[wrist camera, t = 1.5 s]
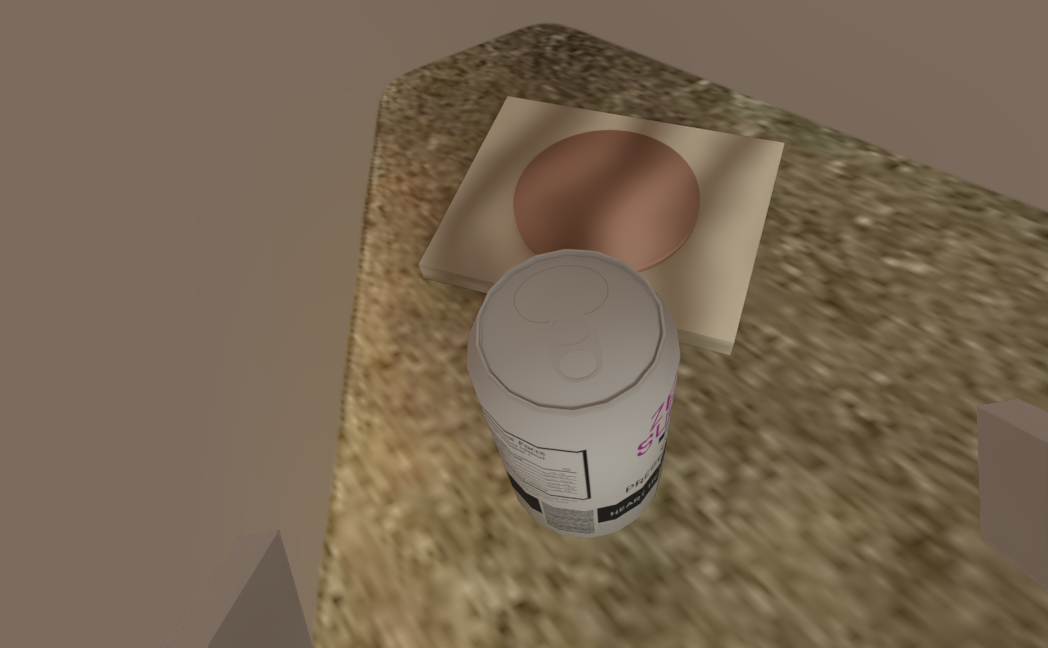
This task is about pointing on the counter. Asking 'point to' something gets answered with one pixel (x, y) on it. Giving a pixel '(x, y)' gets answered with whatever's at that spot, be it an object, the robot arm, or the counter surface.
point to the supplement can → (577, 387)
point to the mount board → (615, 207)
